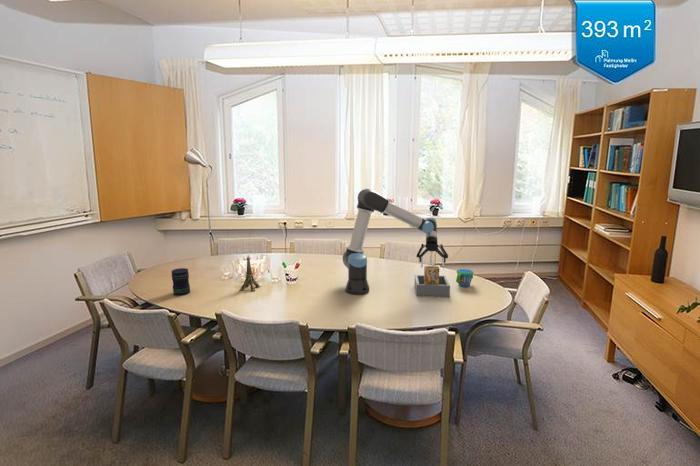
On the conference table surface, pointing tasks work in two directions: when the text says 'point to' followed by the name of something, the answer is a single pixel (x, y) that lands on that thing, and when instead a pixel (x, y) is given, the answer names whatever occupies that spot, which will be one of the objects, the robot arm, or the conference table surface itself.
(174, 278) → the storage jar
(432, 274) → the candy box
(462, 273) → the snack cup
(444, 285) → the bin
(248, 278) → the eiffel tower
